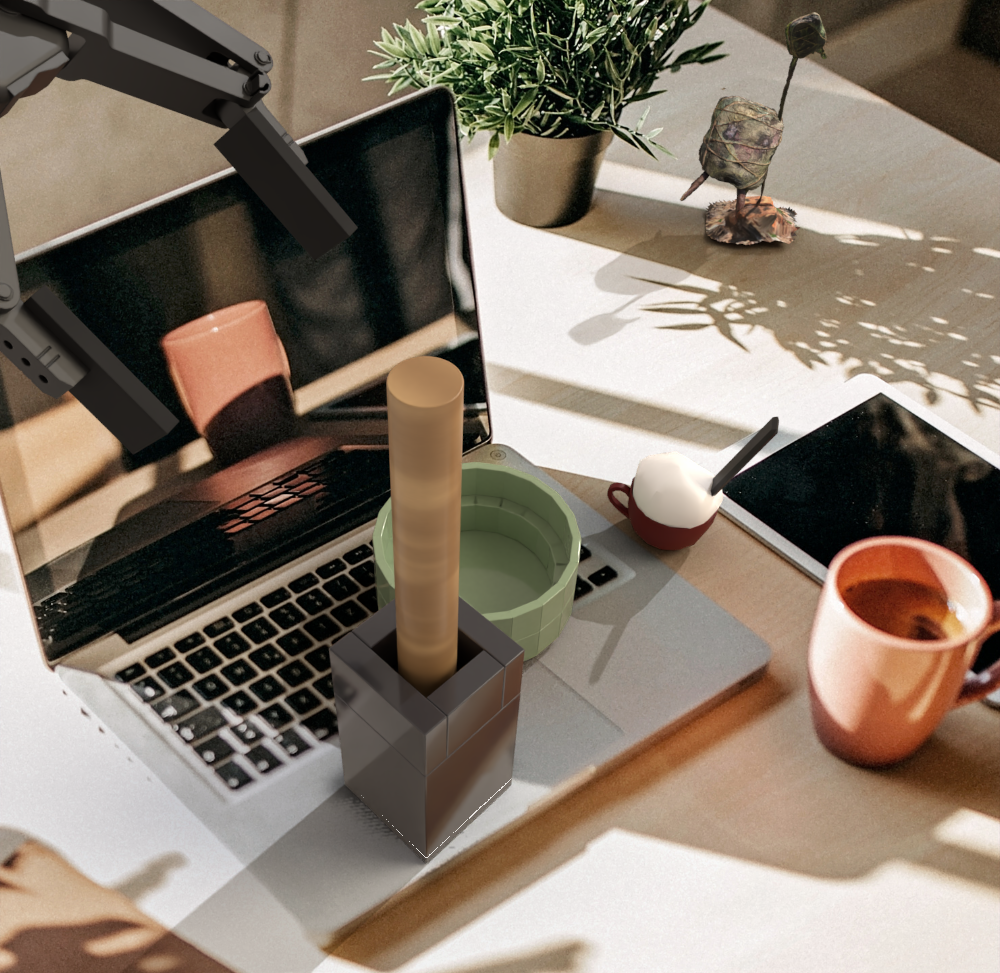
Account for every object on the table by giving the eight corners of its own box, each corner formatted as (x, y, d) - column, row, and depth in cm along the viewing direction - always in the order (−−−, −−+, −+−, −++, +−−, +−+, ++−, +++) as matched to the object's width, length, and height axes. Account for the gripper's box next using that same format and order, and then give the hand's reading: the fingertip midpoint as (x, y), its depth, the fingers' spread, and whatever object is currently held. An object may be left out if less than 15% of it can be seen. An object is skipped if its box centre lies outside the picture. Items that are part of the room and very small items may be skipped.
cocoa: (592, 528, 82) (611, 405, 73) (637, 478, 86) (661, 355, 77) (709, 593, 78) (744, 472, 70) (751, 537, 82) (789, 416, 73)
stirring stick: (426, 727, 59) (423, 418, 43) (387, 692, 60) (370, 379, 44) (467, 692, 61) (480, 381, 44) (428, 658, 62) (426, 345, 46)
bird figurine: (691, 189, 112) (729, -15, 98) (805, 217, 110) (862, 12, 95) (669, 233, 107) (706, 24, 93) (788, 263, 105) (846, 54, 90)
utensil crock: (426, 865, 64) (424, 735, 54) (344, 784, 68) (328, 647, 57) (511, 784, 68) (525, 649, 58) (430, 712, 71) (429, 571, 61)
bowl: (475, 714, 71) (478, 659, 67) (336, 593, 77) (330, 535, 73) (612, 595, 78) (622, 538, 74) (474, 492, 84) (476, 433, 79)
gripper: (24, -170, 50) (348, 214, 57) (-531, 81, 34) (14, 567, 42) (99, -294, 45) (444, 145, 52) (-514, -67, 29) (106, 518, 36)
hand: (255, 333), depth 47 cm, fingers open, 13 cm apart
